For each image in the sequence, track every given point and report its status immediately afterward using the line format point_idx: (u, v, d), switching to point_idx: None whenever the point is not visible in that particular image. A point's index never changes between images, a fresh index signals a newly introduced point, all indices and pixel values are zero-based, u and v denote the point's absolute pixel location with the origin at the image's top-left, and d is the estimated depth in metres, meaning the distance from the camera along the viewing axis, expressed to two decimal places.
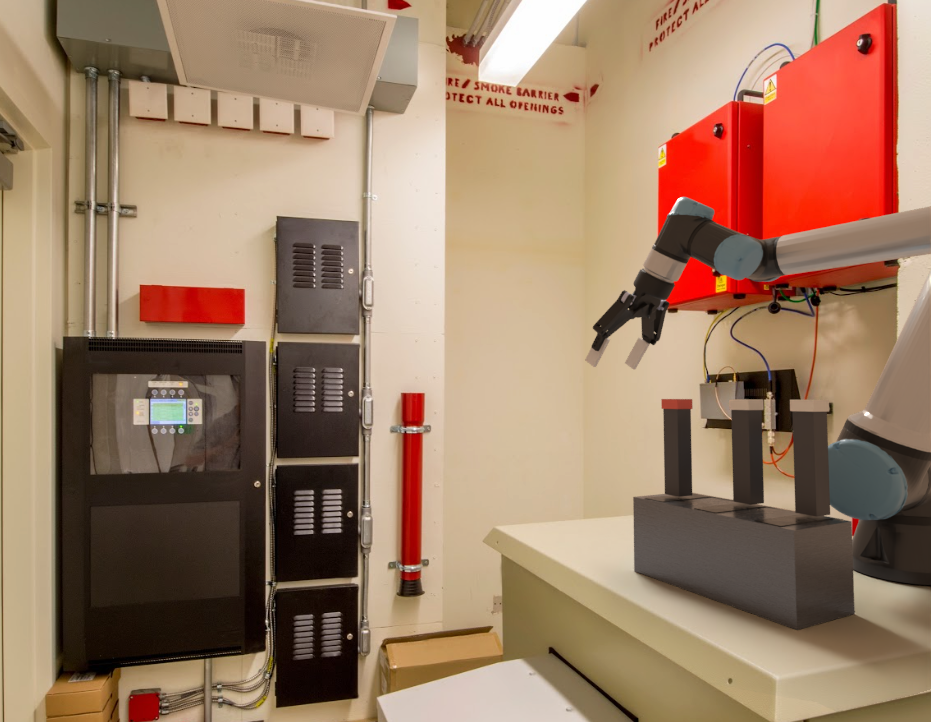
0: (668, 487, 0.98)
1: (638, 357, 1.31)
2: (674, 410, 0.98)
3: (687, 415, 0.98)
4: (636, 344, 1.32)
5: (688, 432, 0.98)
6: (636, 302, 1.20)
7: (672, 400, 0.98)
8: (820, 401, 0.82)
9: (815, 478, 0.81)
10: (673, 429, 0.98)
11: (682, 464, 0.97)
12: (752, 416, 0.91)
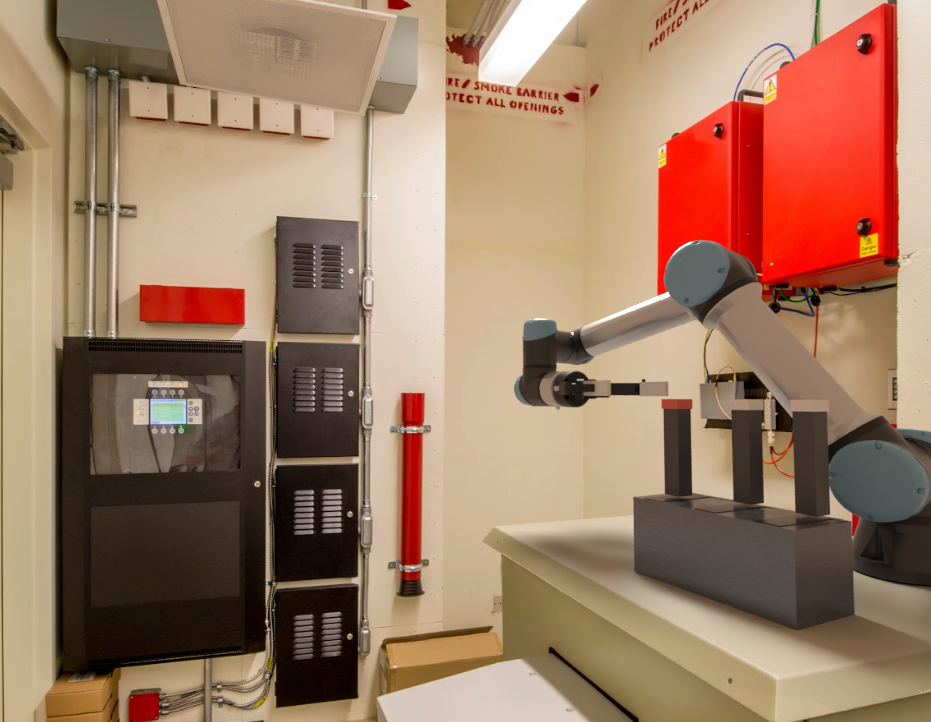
0: (668, 487, 0.98)
1: (653, 383, 1.13)
2: (674, 410, 0.98)
3: (687, 415, 0.98)
4: (645, 394, 1.15)
5: (688, 432, 0.98)
6: None
7: (672, 400, 0.98)
8: (820, 401, 0.82)
9: (815, 478, 0.81)
10: (673, 429, 0.98)
11: (682, 464, 0.97)
12: (752, 416, 0.91)
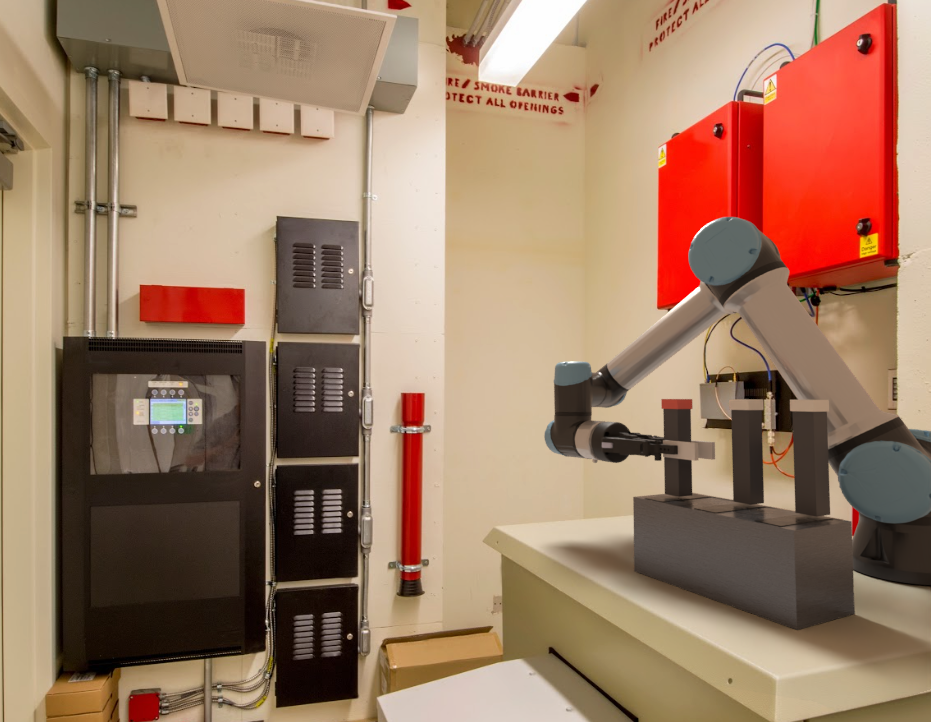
0: (668, 487, 0.98)
1: (696, 442, 0.97)
2: (674, 410, 0.98)
3: (687, 415, 0.98)
4: None
5: (688, 432, 0.98)
6: None
7: (672, 400, 0.98)
8: (820, 401, 0.82)
9: (815, 478, 0.81)
10: (673, 429, 0.98)
11: (682, 464, 0.97)
12: (752, 416, 0.91)
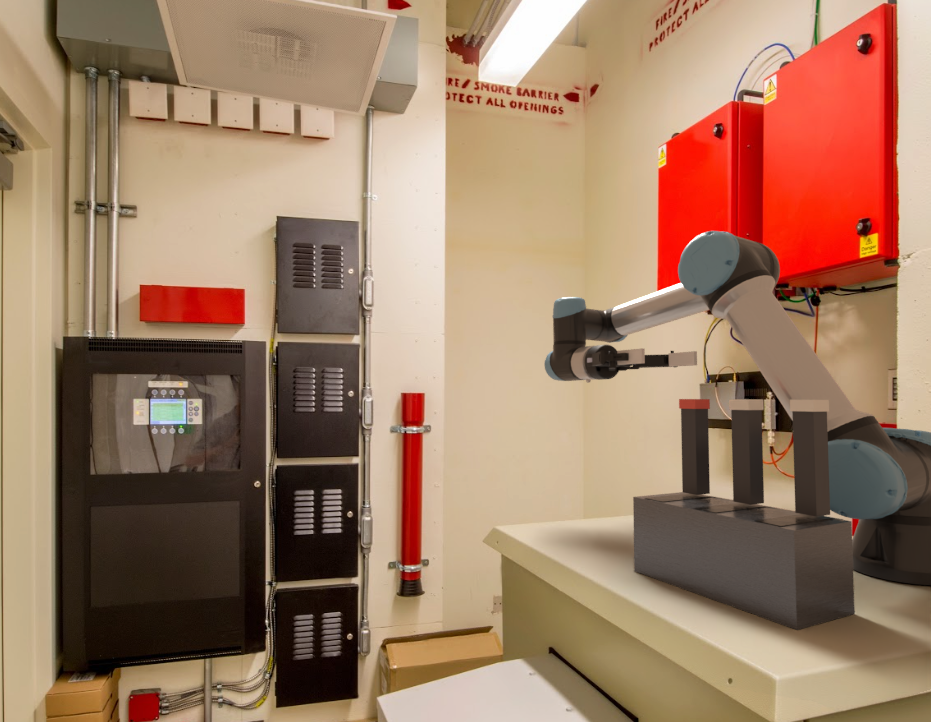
0: (686, 485, 1.00)
1: (682, 353, 1.20)
2: (692, 410, 1.00)
3: (704, 415, 1.00)
4: (674, 364, 1.21)
5: (705, 431, 1.00)
6: None
7: (690, 400, 1.00)
8: (820, 401, 0.82)
9: (815, 478, 0.81)
10: (691, 428, 1.00)
11: (699, 463, 0.99)
12: (752, 416, 0.91)
